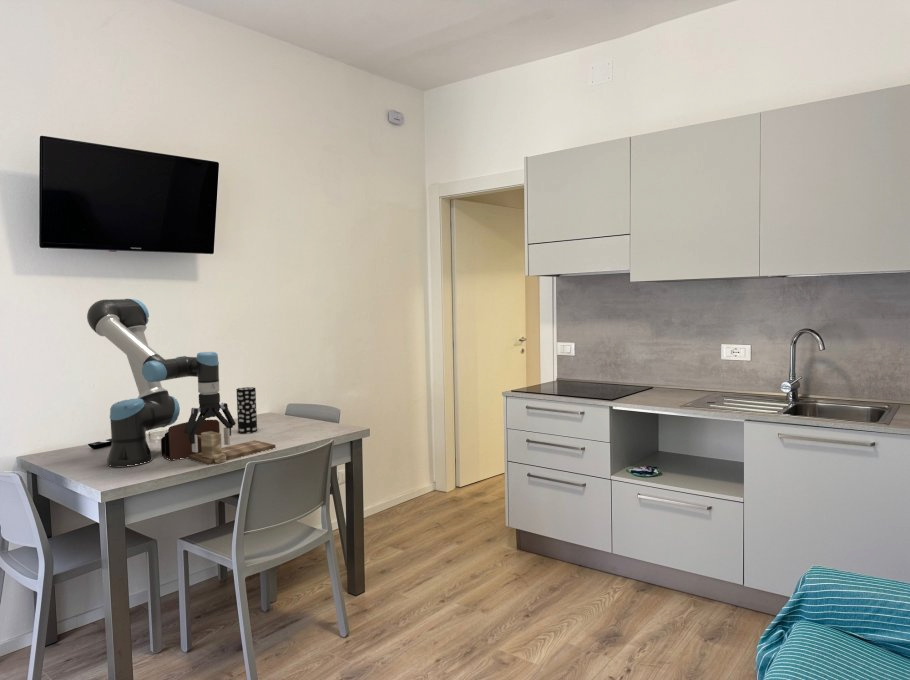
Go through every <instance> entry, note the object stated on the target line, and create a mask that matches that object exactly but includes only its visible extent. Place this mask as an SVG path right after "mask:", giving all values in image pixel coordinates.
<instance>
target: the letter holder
mask: <svg viewBox="0 0 910 680" xmlns="http://www.w3.org/2000/svg"><path fill="white" fill-rule="evenodd" d="M195 422H196V421H195ZM187 423H188V421H186V422H182V423H178V424H173V425H170V426H169V427H168V430H167V432H165V434H164V435H163V436H162V437H161V438H160V448H161V449H160V450H161V451H160V452H161V454H160V455H162V456H164V457H166V458H168V459H170V460H173V459H179V460H181V459H180V458H184V459H187V458H186V457H188V455H193V454H197V453H201V452H202V447H201V439H198V438H197V440H198V452H197V453H196V452H192V444H191V443H190V436H189V434H185V433H184V431H185V428H186V426H187ZM194 424H195V423H194ZM209 431H212V432H216V433H221V432H220V431H221V429H220V420H219V419H205V420H204V421H203V423H202V424H201V426H200V427H199V429H198V431H197V432H196V434H195V435H197V436H198V435H201V433H204V432H209ZM162 456H161V457H162ZM164 457H163V458H164ZM166 458H165V459H166ZM168 459H167V460H168ZM170 460H169V461H170ZM173 461H174V460H173Z"/></svg>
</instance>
